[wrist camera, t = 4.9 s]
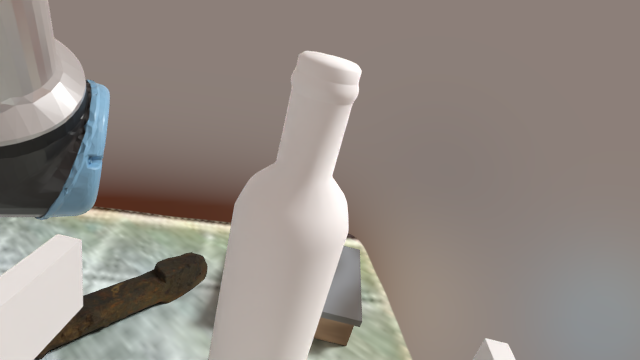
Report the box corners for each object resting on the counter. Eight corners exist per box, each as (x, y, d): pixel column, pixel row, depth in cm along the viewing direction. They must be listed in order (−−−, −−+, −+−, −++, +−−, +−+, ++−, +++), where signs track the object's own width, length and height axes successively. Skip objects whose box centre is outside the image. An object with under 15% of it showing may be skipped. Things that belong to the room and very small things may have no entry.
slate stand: (234, 322, 41) (240, 291, 39) (260, 252, 53) (266, 226, 51) (350, 350, 41) (361, 321, 39) (350, 275, 53) (359, 249, 51)
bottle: (281, 361, 38) (368, 58, 26) (299, 443, 31) (428, 89, 19) (197, 368, 35) (250, 32, 23) (198, 461, 29) (273, 58, 16)
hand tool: (13, 380, 31) (8, 340, 29) (1, 346, 33) (-4, 306, 31) (217, 294, 44) (222, 263, 42) (199, 274, 47) (203, 244, 45)
